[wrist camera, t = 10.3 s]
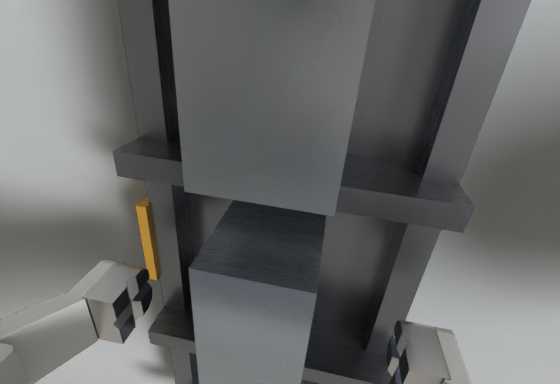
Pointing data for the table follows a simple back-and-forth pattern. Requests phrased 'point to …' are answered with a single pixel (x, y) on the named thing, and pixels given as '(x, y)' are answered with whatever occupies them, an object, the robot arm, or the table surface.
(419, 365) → the robot arm
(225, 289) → the grey upright block
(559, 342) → the table surface
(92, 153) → the table surface
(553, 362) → the table surface
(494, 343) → the table surface
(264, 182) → the rack
